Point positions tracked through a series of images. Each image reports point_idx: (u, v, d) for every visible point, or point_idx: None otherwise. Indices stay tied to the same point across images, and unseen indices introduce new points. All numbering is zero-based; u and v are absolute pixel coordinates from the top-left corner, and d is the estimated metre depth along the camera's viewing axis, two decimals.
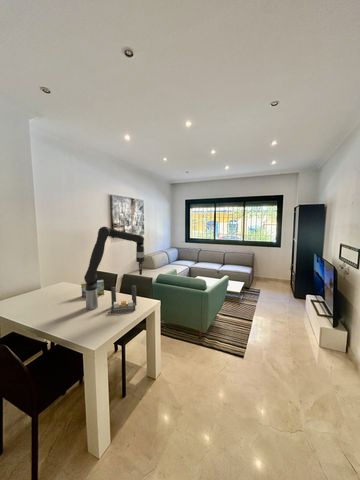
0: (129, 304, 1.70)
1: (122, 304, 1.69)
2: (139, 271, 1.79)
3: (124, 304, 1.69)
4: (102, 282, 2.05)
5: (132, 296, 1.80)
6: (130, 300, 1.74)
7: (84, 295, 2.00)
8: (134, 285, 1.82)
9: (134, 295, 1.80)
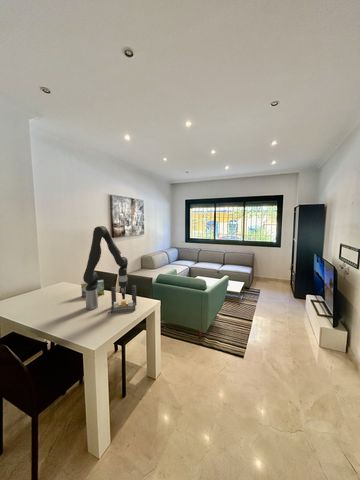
0: (129, 304, 1.70)
1: (122, 304, 1.69)
2: (122, 296, 1.71)
3: (124, 304, 1.69)
4: (102, 282, 2.05)
5: (132, 296, 1.80)
6: (130, 300, 1.74)
7: (84, 295, 2.00)
8: (134, 285, 1.82)
9: (134, 295, 1.80)
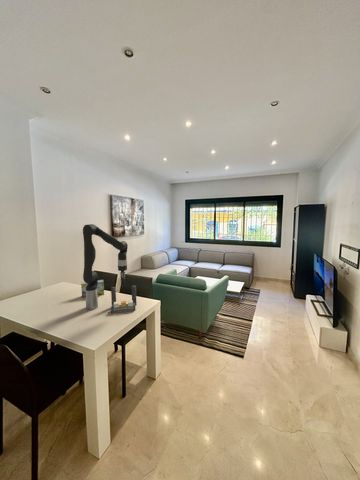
0: (129, 304, 1.70)
1: (122, 304, 1.69)
2: None
3: (124, 304, 1.69)
4: (102, 282, 2.05)
5: (132, 296, 1.80)
6: (130, 300, 1.74)
7: (84, 295, 2.00)
8: (134, 285, 1.82)
9: (134, 295, 1.80)
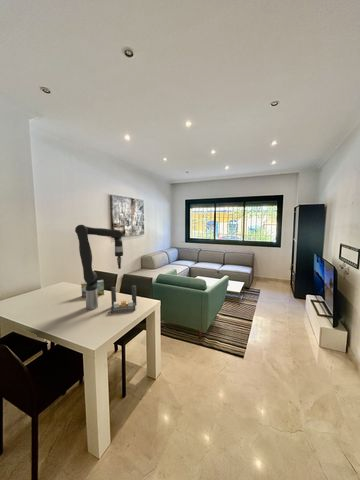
0: (129, 304, 1.70)
1: (122, 304, 1.69)
2: (118, 265, 1.87)
3: (124, 304, 1.69)
4: (102, 282, 2.05)
5: (132, 296, 1.80)
6: (130, 300, 1.74)
7: (84, 295, 2.00)
8: (134, 285, 1.82)
9: (134, 295, 1.80)
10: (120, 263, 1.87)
